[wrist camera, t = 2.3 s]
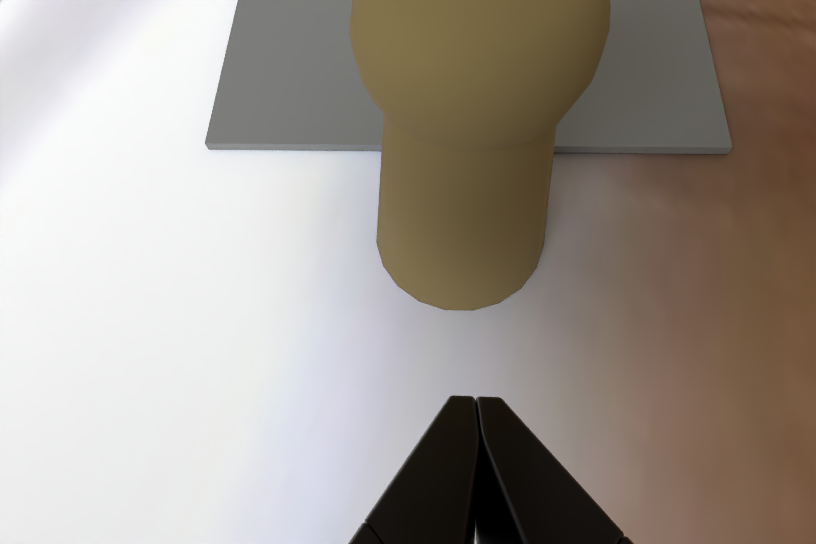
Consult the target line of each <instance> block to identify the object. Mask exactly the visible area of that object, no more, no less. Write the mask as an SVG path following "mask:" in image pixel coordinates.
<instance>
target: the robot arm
mask: <svg viewBox="0 0 816 544" xmlns="http://www.w3.org/2000/svg"><path fill="white" fill-rule="evenodd" d="M475 529H476V541H477V544H633V543H632V541H631V540H630V539H629V538H628V537H626V536H624V534H623V532H622V531H621V530H620V529H619V527H618V526H617V525H616V524H615V523H614V522H613V521H612V520H611V519H610V517H609V516H608V515H607V514H606V513H605V512H604V511H603V510H602V509H601V508H600V506H599V505H598V504H597V503H596V502H595V501H594V500H593V499H592V498H591V497H590V495H589V494H588V493H587V492H586V491H585V490H584V489H583V488H582V487H581V485H580V484H579V483H578V482H577V481H576V480H575V479H574V478H573V477H572V476H571V474H570V473H569V472H568V471H567V470H566V469H565V468H564V467H563V466H562V465H561V463H560V462H559V461H558V460H557V459H556V458H555V457H554V456H553V455H552V453H551V452H550V451H549V450H548V449H547V448H546V447H545V446H544V445H543V444H542V442H541V441H540V440H539V439H538V438H537V437H536V436H535V435H534V434H533V433H532V431H531V430H530V429H529V428H528V427H527V426H526V425H525V424H524V423H523V421H522V420H521V419H520V418H519V417H518V416H517V415H516V414H515V413H514V412H513V410H512V409H511V408H510V407H509V406H508V405H507V404H506V403H505V402H504V401H503V399H501V398H499V397H477V398H476V401H475V399H474V398H473V397H471V396H450V397H449V398H448V400H447V401H446V402H445V404H444V405H443V407H442V408H441V410H440V411H439V413H438V414H437V416H436V417H435V418H434V420H433V421H432V423H431V424H430V426H429V427H428V429H427V430H426V432H425V433H424V435H423V436H422V437H421V439H420V440H419V442H418V443H417V445H416V446H415V448H414V449H413V451H412V452H411V453H410V455H409V456H408V458H407V459H406V461H405V462H404V464H403V465H402V467H401V468H400V469H399V471H398V472H397V474H396V475H395V477H394V478H393V480H392V481H391V483H390V484H389V485H388V487H387V488H386V490H385V491H384V493H383V494H382V496H381V497H380V499H379V500H378V502H377V503H376V504H375V506H374V507H373V509H372V510H371V512H370V513H369V515H368V516H367V518H366V519H365V523H362V524H361V526H360V527H359V529H358V530H357V532H356V533H355V535H354V536H353V538H352V539H351V540H350V542H349V543H348V544H474V540H475Z"/></svg>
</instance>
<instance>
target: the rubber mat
mask: <svg viewBox="0 0 816 544" xmlns="http://www.w3.org/2000/svg"><path fill="white" fill-rule="evenodd" d="M610 3H611V12H610V30H609V33H608V36H607V40H606V43H605V46H604V50H603V53H602V56H601V60H600V62H599V65H598V67H597V70H596V72H595V75H594V77H593V80H592V82H591V84H590V85H589V86H588V87H587V89H586V90H585V91H584V92H583V94H582V95H581V96H580V97H579V99H578V100H577V101H576V102H575V104H574V105H573V106H572V107H571V108H570V110H569V111H568V112H567V113H566V114H565V116H564V117H563V118H562V119H561V120H560V122H559V123H558V124H557V126H556V135H555V144H554V152H555V153H670V154H728V153H729V151H730V150H731V149H732V148H733V147H732V142H731V138H730V133H729V129H728V124H727V120H726V116H725V111H724V107H723V102H722V98H721V93H720V89H719V85H718V80H717V76H716V71H715V67H714V62H713V58H712V54H711V49H710V45H709V40H708V36H707V31H706V27H705V23H704V18H703V14H702V9H701V5H700V1H699V0H610ZM351 9H352V0H238V2H237V6H236V11H235V15H234V19H233V24H232V28H231V32H230V37H229V41H228V45H227V50H226V54H225V58H224V63H223V67H222V71H221V76H220V80H219V84H218V89H217V93H216V97H215V102H214V106H213V110H212V115H211V119H210V123H209V128H208V132H207V136H206V141H205V144H206V146H207V147H208V149H210V150H325V151H382V137H383V119H384V113H383V112H382V111H381V110H380V109H379V107H378V106H377V105H376V104H375V103H374V101H373V100H372V98H371V97H370V95H369V93H368V91H367V90H366V88H365V86H364V84H363V82H362V79H361V76H360V73H359V70H358V67H357V64H356V60H355V57H354V54H353V49H352V44H351V40H350V35H349V27H350V18H351Z"/></svg>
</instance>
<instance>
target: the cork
mask: <svg viewBox="0 0 816 544" xmlns="http://www.w3.org/2000/svg"><path fill="white" fill-rule="evenodd" d="M610 12H611V3H610V0H352V9H351V18H350V27H349V35H350V40H351V44H352V49H353V54H354V57H355V60H356V64H357V67H358V70H359V73H360V76H361V79H362V82H363V84H364V86H365V88H366V90H367V91H368V93H369V95H370V97H371V98H372V100H373V101H374V103H375V104H376V105H377V106H378V107H379V109H380V110H381V111H382V112H383V113H384V119H383V137H382V155H381V172H380V190H379V208H378V226H377V246H378V249H379V253H380V256H381V260H382V263H383V266H384V267H385V269H386V270H387V272H388V273H389V274H390V276H391V277H392V279H393V280H394V281H395V283H396V284H397V286H399V287H400V288H401V289H403V290H404V291H406V292H407V293H408V294H410V295H411V296H412V297H414V298H415V299H417V300H418V301H420V302H423V303H426V304H429V305H432V306H435V307H438V308H441V309H444V310H476V309H480V308H483V307H487V306H490V305H494V304H497V303H500V302H501V301H503V300H504V299H506V298H507V297H509V296H510V295H512V294H513V293H515V292H516V291H518V290H519V289H521V288H522V286H523V285H524V284H525V282H526V281H527V280H528V278H529V277H530V276H531V274H532V273H533V272H534V270H535V269H536V267H537V264H538V261H539V257H540V254H541V251H542V248H543V243H544V234H545V225H546V216H547V207H548V198H549V189H550V180H551V171H552V162H553V153H554V144H555V135H556V126H557V124H558V123H559V122H560V120H561V119H562V118H563V117H564V116H565V114H566V113H567V112H568V111H569V110H570V108H571V107H572V106H573V105H574V104H575V102H576V101H577V100H578V99H579V97H580V96H581V95H582V94H583V92H584V91H585V90H586V89H587V87H588V86H589V85H590V84H591V82H592V80H593V77H594V75H595V72H596V70H597V67H598V65H599V62H600V60H601V56H602V53H603V50H604V46H605V43H606V40H607V36H608V33H609V30H610Z"/></svg>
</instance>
